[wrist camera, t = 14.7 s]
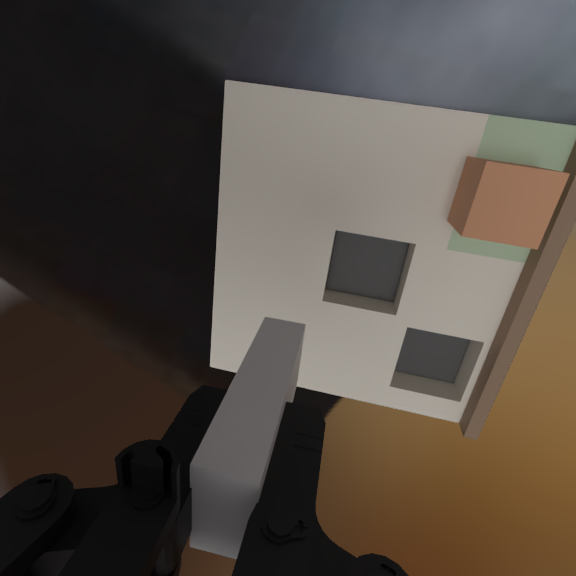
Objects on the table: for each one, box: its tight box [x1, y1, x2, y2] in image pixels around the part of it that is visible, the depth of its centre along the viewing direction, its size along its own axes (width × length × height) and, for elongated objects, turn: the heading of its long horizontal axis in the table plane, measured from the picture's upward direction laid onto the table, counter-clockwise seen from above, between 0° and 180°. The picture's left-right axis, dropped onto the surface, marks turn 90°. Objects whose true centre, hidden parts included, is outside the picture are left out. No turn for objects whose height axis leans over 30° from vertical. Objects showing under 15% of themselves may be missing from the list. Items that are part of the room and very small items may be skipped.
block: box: [447, 156, 570, 250], centre depth 21 cm, size 4×4×4 cm
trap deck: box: [210, 80, 576, 440], centre depth 27 cm, size 22×22×4 cm
